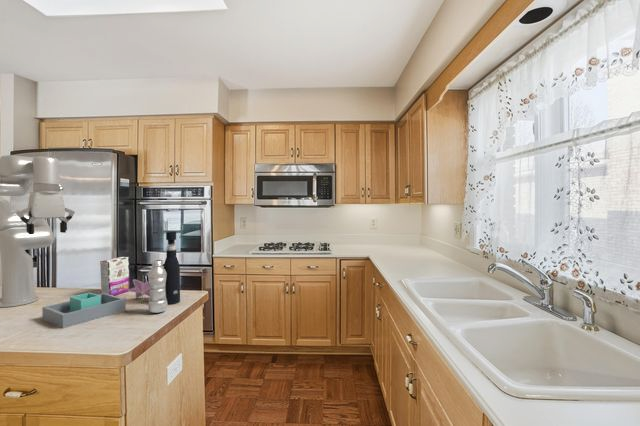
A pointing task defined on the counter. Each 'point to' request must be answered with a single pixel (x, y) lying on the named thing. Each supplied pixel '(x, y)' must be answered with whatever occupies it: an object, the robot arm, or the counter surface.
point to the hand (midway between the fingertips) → (47, 233)
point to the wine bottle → (172, 271)
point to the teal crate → (84, 301)
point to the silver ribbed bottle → (157, 287)
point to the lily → (140, 288)
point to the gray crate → (82, 311)
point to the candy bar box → (115, 276)
